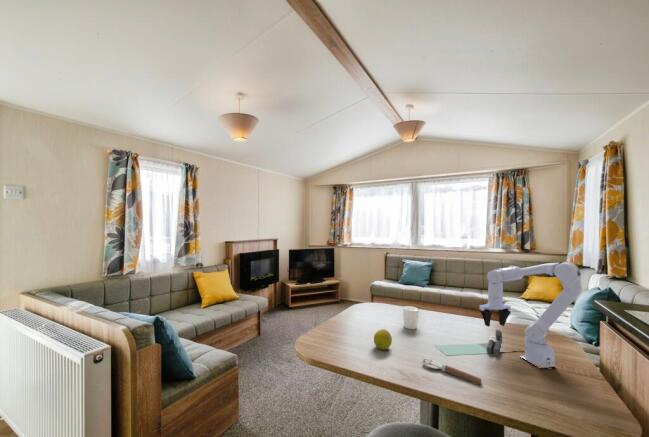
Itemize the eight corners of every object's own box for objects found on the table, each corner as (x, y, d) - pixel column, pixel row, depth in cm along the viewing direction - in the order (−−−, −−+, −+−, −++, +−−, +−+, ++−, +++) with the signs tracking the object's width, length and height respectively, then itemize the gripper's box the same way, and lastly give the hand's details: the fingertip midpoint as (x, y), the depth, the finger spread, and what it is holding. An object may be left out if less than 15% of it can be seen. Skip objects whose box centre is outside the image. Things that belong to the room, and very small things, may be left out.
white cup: (416, 324, 151) (416, 306, 151) (419, 330, 143) (420, 311, 143) (401, 323, 152) (402, 305, 152) (404, 329, 144) (404, 310, 144)
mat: (525, 351, 122) (525, 351, 122) (446, 355, 117) (446, 355, 117) (509, 342, 131) (509, 342, 131) (434, 345, 125) (434, 345, 125)
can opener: (490, 339, 134) (490, 326, 134) (502, 342, 131) (503, 329, 131) (485, 353, 119) (485, 339, 119) (499, 357, 116) (499, 342, 116)
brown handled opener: (482, 383, 99) (483, 375, 99) (479, 391, 94) (479, 382, 94) (426, 361, 112) (426, 353, 112) (420, 367, 107) (421, 359, 107)
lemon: (386, 355, 115) (386, 336, 115) (369, 349, 120) (370, 331, 120) (395, 346, 124) (396, 328, 124) (379, 341, 129) (380, 324, 129)
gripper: (502, 293, 130) (501, 321, 130) (475, 293, 128) (474, 322, 128) (514, 297, 123) (513, 327, 123) (486, 298, 121) (485, 328, 121)
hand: (494, 325), depth 125 cm, fingers open, 7 cm apart
